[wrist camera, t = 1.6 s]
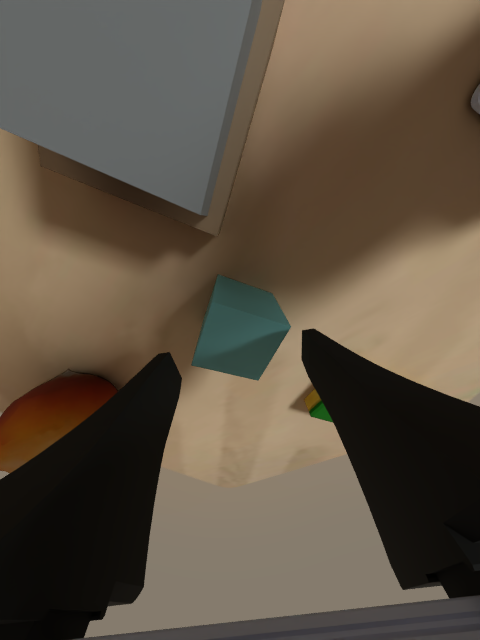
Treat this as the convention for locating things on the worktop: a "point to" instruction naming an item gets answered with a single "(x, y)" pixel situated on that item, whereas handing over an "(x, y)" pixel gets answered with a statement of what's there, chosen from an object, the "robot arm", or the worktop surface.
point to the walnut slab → (233, 148)
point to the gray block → (128, 86)
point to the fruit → (48, 415)
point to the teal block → (240, 330)
